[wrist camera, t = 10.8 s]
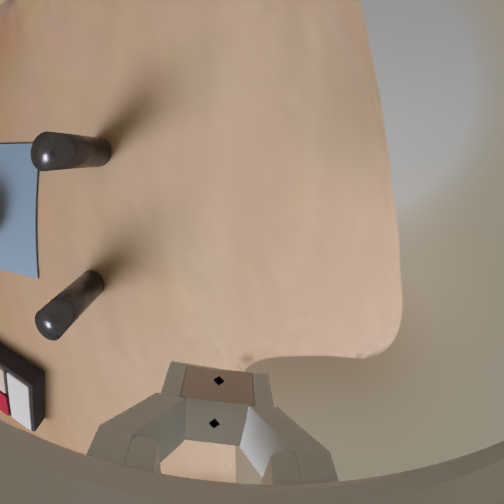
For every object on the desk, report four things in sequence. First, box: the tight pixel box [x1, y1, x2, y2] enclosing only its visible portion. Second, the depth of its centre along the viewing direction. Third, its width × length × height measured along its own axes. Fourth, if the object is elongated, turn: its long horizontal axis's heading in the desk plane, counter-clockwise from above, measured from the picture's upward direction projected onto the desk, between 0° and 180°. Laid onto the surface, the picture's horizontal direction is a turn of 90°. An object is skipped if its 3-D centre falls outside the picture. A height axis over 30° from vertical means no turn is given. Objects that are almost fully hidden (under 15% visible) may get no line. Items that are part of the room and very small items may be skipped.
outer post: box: [35, 271, 104, 340], centre depth 24 cm, size 3×3×9 cm
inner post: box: [31, 132, 112, 171], centre depth 21 cm, size 3×3×9 cm
